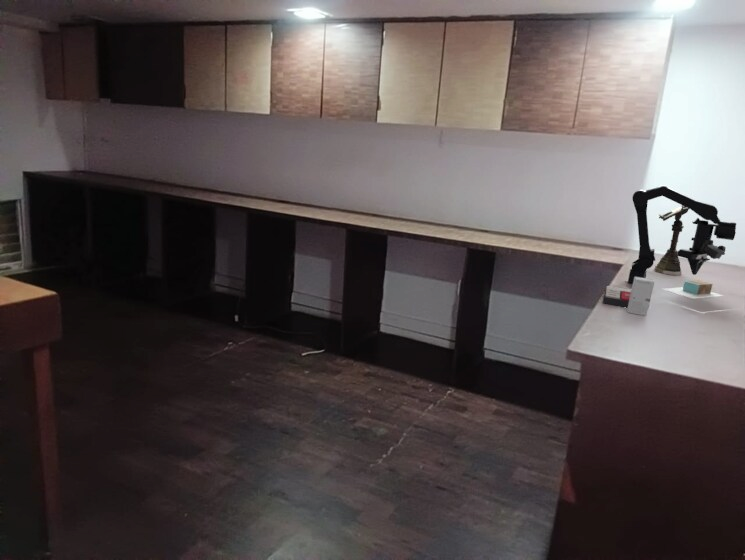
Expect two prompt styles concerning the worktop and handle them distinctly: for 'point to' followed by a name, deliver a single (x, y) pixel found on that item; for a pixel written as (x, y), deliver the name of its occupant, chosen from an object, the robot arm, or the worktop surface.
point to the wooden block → (697, 287)
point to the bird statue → (672, 244)
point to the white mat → (690, 295)
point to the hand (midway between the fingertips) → (694, 274)
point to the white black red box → (616, 296)
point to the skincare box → (640, 295)
